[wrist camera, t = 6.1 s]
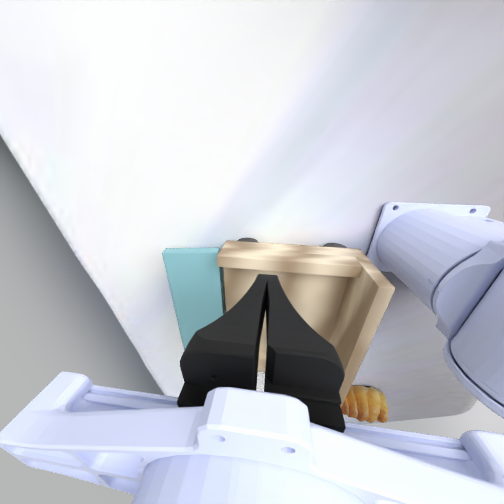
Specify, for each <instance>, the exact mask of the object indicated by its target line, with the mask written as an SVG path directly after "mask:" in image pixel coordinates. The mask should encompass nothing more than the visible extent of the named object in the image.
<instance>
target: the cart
mask: <svg viewBox="0 0 504 504" xmlns="http://www.w3.org/2000/svg"><path fill="white" fill-rule="evenodd" d="M217 265H218V267H223V269H224V285H225V300H226V312H227V311H229V310H230V309H231V308H232V307H233V306H234V305H235V304H236V303H237V302H238V301H239V300H240V299H241V298H242V297H243V296H244V295H245V293H246V292H247V291H248V290H249V288H250V287H251V286H252V284H253V283H254V281H255V279H256V277H257V275H258V274H269V275H277V276H278V278H279V281H280V284H281V286H282V288H283V290H284V292H285V294H286V296H287V298H288V299H289V301H290V302H291V304H292V305H293V307H294V308H295V310H296V311H297V312H298V313H299V315H300V316H301V317H302V318H303V319H304V320H305V321H306V322H307V323H308V325H309V326H310V327H311V328H312V329H314V330H315V331H316V332H317V333H318V334H319V335H320V336H322V337H323V338H324V339H325V340H327V341H328V342H329V343H331V344H332V345H333V346H334V348H335V350H336V352H337V354H338V356H339V358H340V360H341V363H342V365H343V369H344V372H345V377H344V381H343V383H342V386H341V388H340V391H339V394H340V397H341V405H340V407H342V405H343V403H344V400H345V398H346V396H347V394H348V392H349V389H350V387H351V385H352V383H353V381H354V379H355V376H356V374H357V372H358V370H359V368H360V365H361V363H362V361H363V359H364V357H365V354H366V352H367V350H368V348H369V346H370V343H371V341H372V339H373V337H374V335H375V333H376V330H377V328H378V326H379V324H380V322H381V319H382V317H383V315H384V313H385V311H386V308H387V306H388V304H389V302H390V300H391V297H392V295H393V293H394V291H395V289H396V288H395V287H394V286H393V285H392V284H391V283H390V282H389V281H388V279H387V278H386V277H385V276H384V275H383V274H382V273H381V272H380V271H379V270H378V269H377V267H376V266H375V265H374V264H373V263H372V262H371V261H370V260H369V259H368V258H367V256H366V255H365V254H364V253H363V252H362V251H361V250H360V249H353V248H347V247H345V246H343V245H341V244H337V243H328V244H325V247H321V246H305V245H289V244H273V243H258V241H257V240H255V239H253V238H242V239H239V240H238V241H226V242H225V244H224V246H223V247H222V249H221V250H220V252H219V254H218V255H217ZM266 349H267V335H266V311H265V317H264V323H263V328H262V334H261V340H260V348H259V360H258V371H259V372H265V367H266Z"/></svg>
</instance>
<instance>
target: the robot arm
mask: <svg viewBox="0 0 504 504" xmlns="http://www.w3.org/2000/svg"><path fill="white" fill-rule="evenodd" d="M395 205H396V208H395V209H393V207H394V206H395ZM471 209H472V211H471V212H470V210H471ZM489 212H490V207H488V206H484V205H457V204H431V203H405V202H388V203H386V204H385V205H384V207H383V209H382V212H381V215H380V218H379V221H378V224H377V227H376V230H375V233H374V236H373V239H372V242H371V245H370V248H369V251H368V254H367V258H368V259H369V260H370V261H371V262H372V263H373V264H374V265H375V266H376V267H377V269H378V270H379V271H385V272H393V273H394V274H395V275H396V276H397V277H398V278H399V279H400V280H401V281H402V282H403V283H404V284H405V285H406V286H407V287H408V288H409V289H410V290H411V291H412V292H413V293H414V294H415V295H416V296H417V297H418V298H419V299H420V300H421V301H422V302H423V303H424V304H425V305H426V306H428V307H429V308H430V309H431V310H432V311H433V312H434V313H435V314H436V315H437V317H438V322H437V324H436V327H437V328H438V329H439V330H440V331H441V333H442V334H443V335H444V336H445V337H446V338H447V339H448V341H447V342H446V344H445V346H444V349H443V354H444V358H445V361H446V363H447V365H448V367H449V368H450V370H451V371H452V373H453V374H454V375H455V377H456V378H457V379H458V380H459V381H460V383H461V384H462V385H463V386H464V387H465V388H466V389H467V390H468V391H469V392H470V393H471V394H472V395H474V396H475V397H476V398H477V399H478V400H479V401H480V402H482V403H483V404H484V405H486V406H487V407H488V408H489V409H491V410H492V411H493V412H495V413H496V414H498V415H499V416H501V417H502V418H503V419H504V222H500V221H497V220H493V219H490V218H486V217H487V215H488V214H489ZM265 311H266V335H267V349H266V367H265V385H264V392H261V391H256V384H257V372H258V360H259V348H260V340H261V334H262V328H263V323H264V317H265ZM180 367H181V371H182V375H183V378H184V382H185V383H184V385H183V388H182V390H181V393H180V395H179V398H177V397H171V396H164V395H157V394H150V393H143V392H137V391H129V390H123V389H116V388H109V387H103V386H96V385H93V383H92V381H91V379H90V378H89V377H88V376H86V375H83V374H79V373H71V372H65V371H64V372H61V373H60V374H59V375H58V376H57V377H56V378H55V379H54V380H53V381H52V382H51V383H50V384H49V385H47V386H46V387H45V388H44V389H43V390H42V391H41V393H39V395H37V396H36V397H35V398H34V400H32V401H31V402H30V403H29V404H28V405H27V406H26V407H25V408H24V409H23V410H22V411H21V412H20V413H19V414H18V415H17V416H16V417H15V418H14V419H13V420H12V421H11V422H10V423H9V424H8V425H7V426H6V427H5V428H4V429H3V430H2V431H1V432H0V447H1V448H3V449H4V450H6V451H7V452H8V453H10V454H11V455H13V456H14V457H16V458H17V459H19V460H20V461H22V462H23V463H24V464H26V465H27V466H29V467H33V468H37V469H42V470H47V471H51V472H55V473H59V474H63V475H67V476H71V477H74V478H77V479H81V480H85V481H88V482H91V483H95V484H99V485H102V486H105V487H108V488H112V489H115V490H119V491H122V492H126V493H129V494H132V495H135V497H134V499H133V502H132V504H504V434H500V433H494V432H486V431H479V430H471V431H467V432H465V433H464V434H462V436H461V437H460V439H455V438H448V437H441V436H434V435H428V434H421V433H414V432H407V431H401V430H394V429H387V428H380V427H373V426H367V425H360V424H353V423H347V422H344V418H343V414H342V410H341V407H340V405H341V397H340V394H339V391H340V388H341V386H342V383H343V381H344V377H345V372H344V369H343V365H342V363H341V360H340V358H339V356H338V354H337V352H336V350H335V348H334V346H333V345H332V344H331V343H329V342H328V341H327V340H325V339H324V338H323V337H322V336H320V335H319V334H318V333H317V332H316V331H315V330H314V329H312V328H311V327H310V326H309V325H308V323H307V322H306V321H305V320H304V319H303V318H302V317H301V316H300V315H299V313H298V312H297V311H296V310H295V308H294V307H293V305H292V304H291V302H290V301H289V299H288V298H287V296H286V294H285V292H284V290H283V288H282V286H281V284H280V281H279V278H278V276H277V275H269V274H258V275H257V277H256V279H255V281H254V283H253V284H252V286H251V287H250V288H249V290H248V291H247V292H246V293H245V295H244V296H243V297H242V298H241V299H240V300H239V301H238V302H237V303H236V304H235V305H234V306H233V307H232V308H231V309H230V310H229V311H227V312H226V313H225V314H224V315H222V316H221V317H219V318H218V319H217V320H215V321H214V322H212V323H210V324H209V325H207V326H205V327H203V328H201V329H199V330H197V331H196V332H195V334H194V335H193V337H192V338H191V340H190V341H189V343H188V345H187V347H186V349H185V351H184V353H183V355H182V357H181V360H180Z"/></svg>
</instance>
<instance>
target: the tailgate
mask: <svg viewBox="0 0 504 504" xmlns="http://www.w3.org/2000/svg"><path fill="white" fill-rule="evenodd" d="M218 254H219V248H166V249H165V250H164V252H163V253H162V255H163V259H164V263H165V268H166V272H167V276H168V281H169V285H170V289H171V294H172V298H173V302H174V307H175V311H176V316H177V320H178V324H179V329H180V333H181V337H182V342H183V346H184V350H185V349H186V347H187V345H188V343H189V341H190V340H191V338H192V337H193V335H194V334H195V332H196V331H197V330H199V329H201V328H203V327H205V326H207V325H209V324H210V323H212V322H214V321H215V320H217V319H218V318H219V317H221V316H222V315H224V309H223V296H222V282H221V268H220V267H218V265H217V255H218Z"/></svg>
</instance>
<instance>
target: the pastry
mask: <svg viewBox="0 0 504 504" xmlns="http://www.w3.org/2000/svg"><path fill="white" fill-rule="evenodd" d="M341 410H342V414H345V415H348V417H353V418H356V419H358V420H359V421H364V420H366V421H368V422H370V423H372V422H374V421H375V420H377V421H379V422H383V423H384V422H386V421H387V420H388V407H387V402H386V398H385V395H384V393H382V392H381V391H379V390H377V389H376V388H374V387H371V386H370V388H367V387H364V386H359V385H356V386H351V387H350V389H349V392H348V394H347V396H346V398H345V400H344V403H343V405H342V407H341Z"/></svg>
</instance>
